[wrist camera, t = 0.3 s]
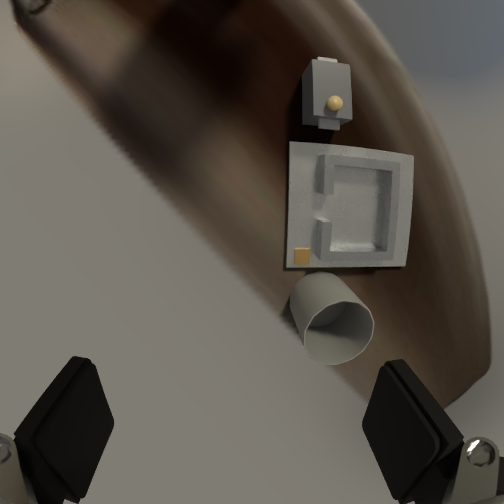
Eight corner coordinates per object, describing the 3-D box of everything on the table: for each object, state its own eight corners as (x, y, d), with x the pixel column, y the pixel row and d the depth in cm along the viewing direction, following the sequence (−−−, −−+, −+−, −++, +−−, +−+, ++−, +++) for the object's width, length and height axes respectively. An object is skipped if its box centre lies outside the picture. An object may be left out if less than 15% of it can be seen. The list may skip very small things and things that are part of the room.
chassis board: (288, 142, 35) (293, 139, 31) (410, 156, 35) (422, 155, 32) (285, 265, 38) (289, 273, 35) (402, 264, 39) (413, 271, 36)
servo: (301, 68, 32) (313, 47, 25) (334, 72, 32) (351, 54, 26) (302, 132, 34) (316, 122, 28) (335, 135, 35) (355, 127, 28)
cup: (353, 276, 39) (383, 305, 30) (337, 328, 41) (360, 365, 32) (296, 266, 39) (314, 295, 29) (283, 321, 40) (294, 361, 31)
